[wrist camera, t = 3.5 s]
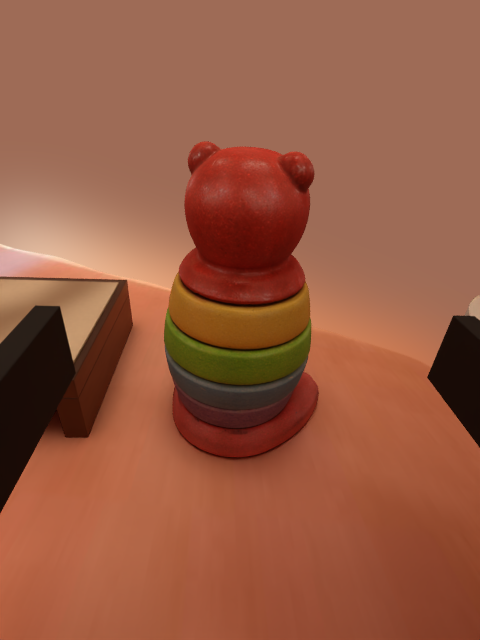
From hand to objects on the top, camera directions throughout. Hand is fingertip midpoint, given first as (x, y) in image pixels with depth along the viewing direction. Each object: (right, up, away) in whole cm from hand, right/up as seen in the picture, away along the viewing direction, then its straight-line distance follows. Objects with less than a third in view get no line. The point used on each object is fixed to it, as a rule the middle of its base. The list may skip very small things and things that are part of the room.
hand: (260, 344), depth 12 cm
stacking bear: (-1, -6, +15) cm, 16 cm away
